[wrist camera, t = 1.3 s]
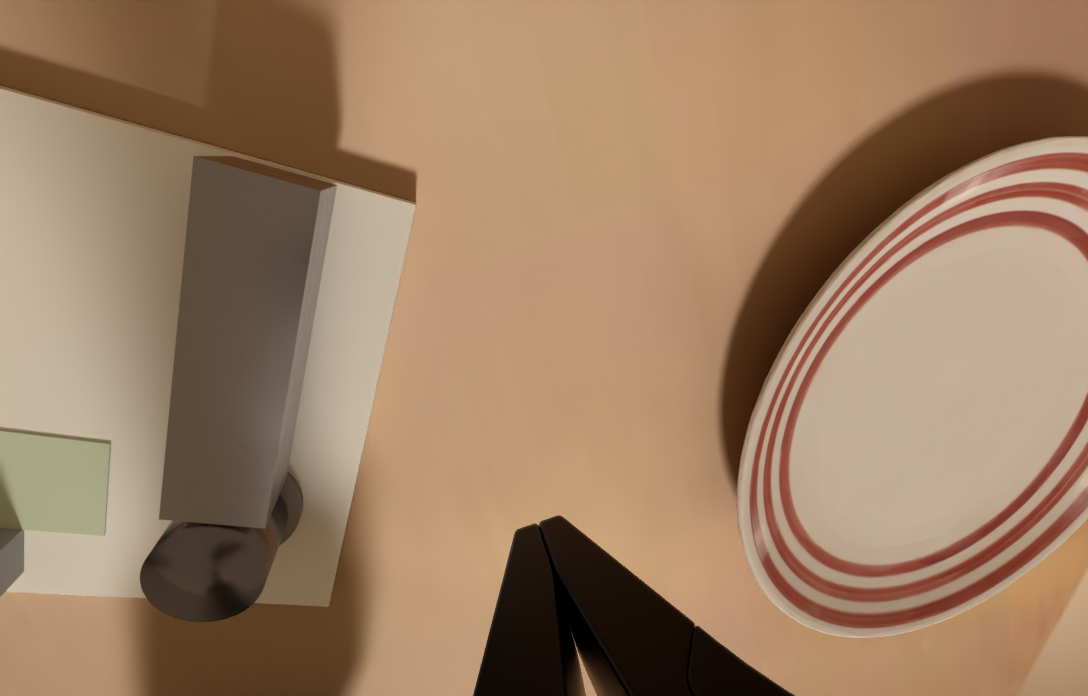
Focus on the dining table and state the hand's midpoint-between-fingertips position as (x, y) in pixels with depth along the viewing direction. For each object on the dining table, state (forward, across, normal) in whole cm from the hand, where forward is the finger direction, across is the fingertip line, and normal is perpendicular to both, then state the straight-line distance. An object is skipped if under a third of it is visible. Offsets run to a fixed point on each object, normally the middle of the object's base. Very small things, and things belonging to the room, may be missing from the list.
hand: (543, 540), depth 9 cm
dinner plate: (+14, -23, +12) cm, 29 cm away
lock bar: (+11, +8, -1) cm, 14 cm away
